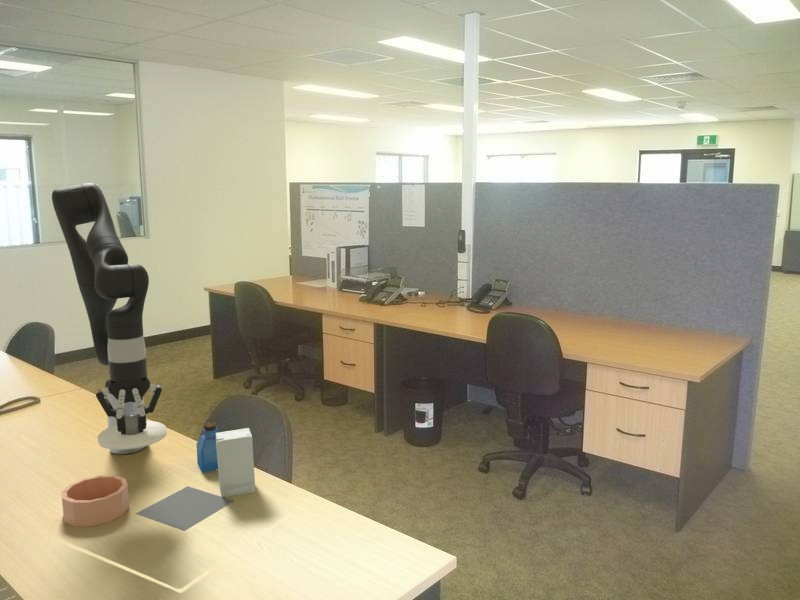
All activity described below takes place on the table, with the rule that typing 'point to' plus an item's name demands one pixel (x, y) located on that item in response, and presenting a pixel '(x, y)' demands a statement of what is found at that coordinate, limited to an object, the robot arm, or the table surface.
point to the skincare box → (235, 462)
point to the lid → (132, 434)
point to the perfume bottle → (207, 448)
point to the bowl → (95, 500)
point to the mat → (185, 508)
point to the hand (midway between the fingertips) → (132, 431)
